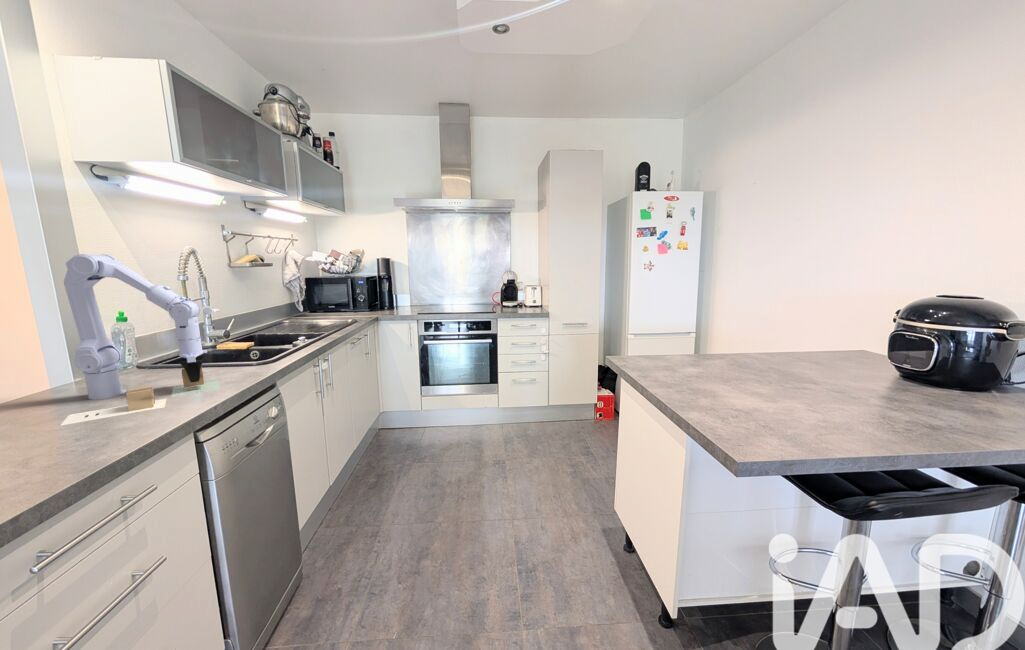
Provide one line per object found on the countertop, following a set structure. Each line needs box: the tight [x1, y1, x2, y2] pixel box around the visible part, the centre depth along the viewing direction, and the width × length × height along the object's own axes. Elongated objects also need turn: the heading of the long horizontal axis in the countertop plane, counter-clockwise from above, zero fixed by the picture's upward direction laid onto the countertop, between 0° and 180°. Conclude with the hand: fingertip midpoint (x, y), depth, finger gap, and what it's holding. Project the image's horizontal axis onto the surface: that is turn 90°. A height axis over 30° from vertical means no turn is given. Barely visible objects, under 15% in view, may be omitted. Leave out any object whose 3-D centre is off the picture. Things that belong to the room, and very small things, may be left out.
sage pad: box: [170, 380, 221, 398], centre depth 127 cm, size 12×12×1 cm
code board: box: [60, 398, 167, 427], centre depth 109 cm, size 9×20×1 cm, turn 128°
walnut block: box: [181, 365, 205, 388], centre depth 126 cm, size 5×5×5 cm
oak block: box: [125, 385, 156, 411], centre depth 111 cm, size 5×5×5 cm
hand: (195, 379), depth 127 cm, fingers closed on walnut block, 5 cm apart
